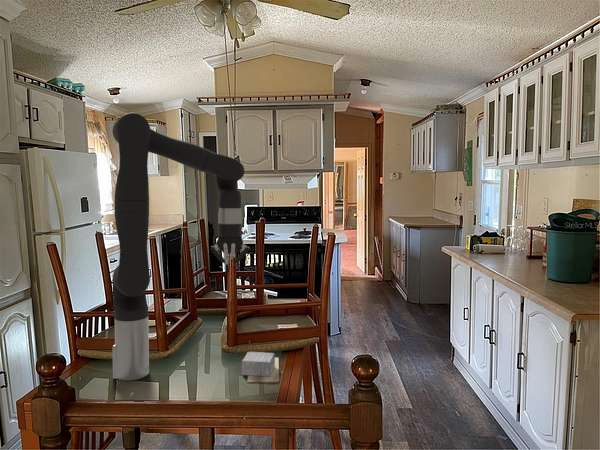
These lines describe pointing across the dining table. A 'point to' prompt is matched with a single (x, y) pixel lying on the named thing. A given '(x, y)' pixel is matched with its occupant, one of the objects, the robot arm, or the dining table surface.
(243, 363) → the medicine box
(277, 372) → the board
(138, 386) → the dining table surface
